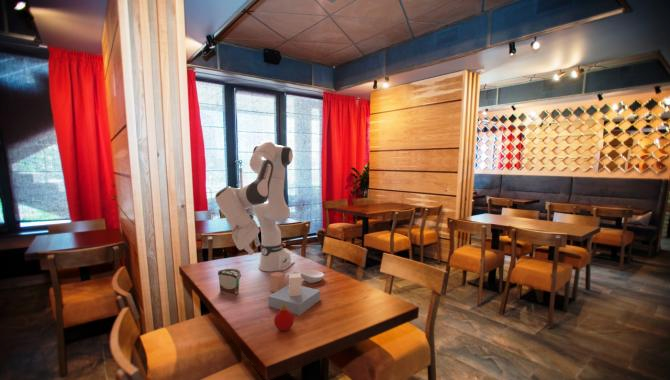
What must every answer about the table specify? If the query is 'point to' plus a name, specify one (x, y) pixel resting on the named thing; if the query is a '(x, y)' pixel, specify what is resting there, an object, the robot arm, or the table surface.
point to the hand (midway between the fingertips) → (255, 249)
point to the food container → (229, 281)
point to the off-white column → (295, 284)
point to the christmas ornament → (283, 319)
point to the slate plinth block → (294, 299)
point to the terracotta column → (277, 281)
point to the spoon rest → (307, 275)
